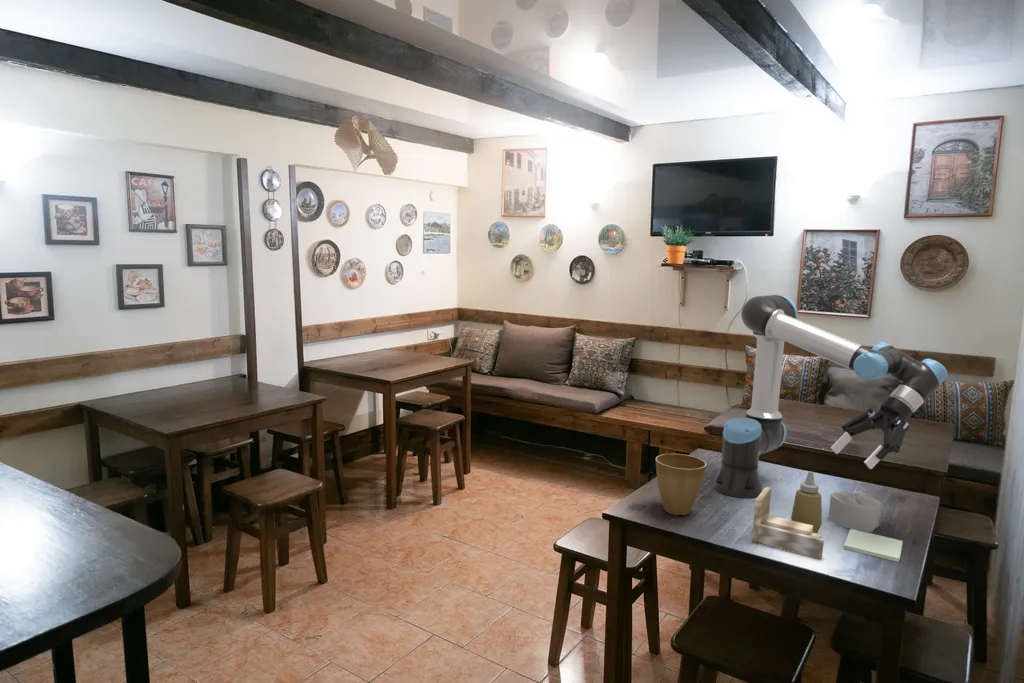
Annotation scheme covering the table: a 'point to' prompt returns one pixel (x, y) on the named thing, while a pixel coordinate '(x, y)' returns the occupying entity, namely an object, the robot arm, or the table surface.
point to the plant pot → (679, 481)
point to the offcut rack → (784, 530)
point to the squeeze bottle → (808, 504)
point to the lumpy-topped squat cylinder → (854, 510)
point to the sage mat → (873, 545)
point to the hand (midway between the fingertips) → (850, 458)
